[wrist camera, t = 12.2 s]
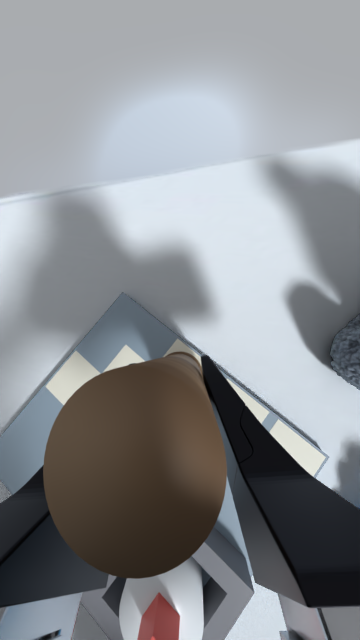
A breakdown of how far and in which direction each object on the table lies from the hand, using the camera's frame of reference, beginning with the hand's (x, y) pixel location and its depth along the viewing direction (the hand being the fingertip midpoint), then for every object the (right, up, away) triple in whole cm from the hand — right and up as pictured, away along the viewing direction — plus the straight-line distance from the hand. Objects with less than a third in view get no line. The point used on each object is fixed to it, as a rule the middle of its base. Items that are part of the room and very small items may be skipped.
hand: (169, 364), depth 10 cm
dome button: (0, -17, +4) cm, 18 cm away
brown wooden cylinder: (+1, -2, +6) cm, 6 cm away
